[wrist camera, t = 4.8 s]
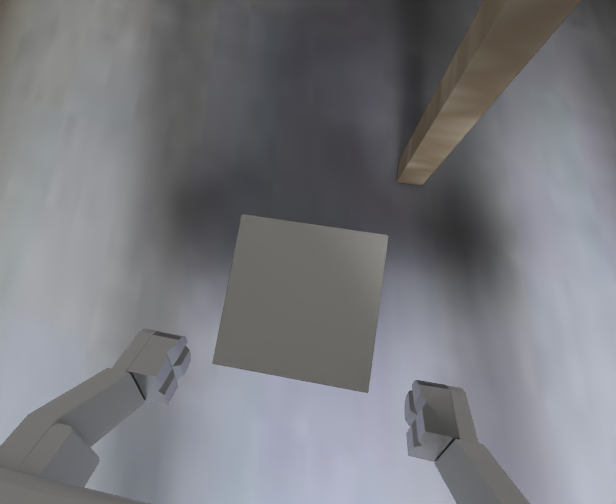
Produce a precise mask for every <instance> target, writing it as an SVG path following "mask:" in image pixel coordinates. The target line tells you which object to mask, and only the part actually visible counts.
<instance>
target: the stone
mask: <svg viewBox="0 0 616 504" xmlns="http://www.w3.org/2000/svg"><path fill="white" fill-rule="evenodd" d="M388 236H389V235H383V234H376V233H370V232H363V231H356V230H349V229H342V228H335V227H328V226H321V225H314V224H307V223H300V222H294V221H287V220H280V219H273V218H266V217H259V216H252V215H245V214H242V215H241V220H240V225H239V230H238V235H237V241H236V246H235V251H234V256H233V261H232V266H231V271H230V276H229V281H228V287H227V292H226V297H225V302H224V307H223V312H222V317H221V322H220V327H219V333H218V338H217V343H216V348H215V353H214V358H213V363H212V364H217V365H223V366H228V367H233V368H238V369H244V370H249V371H254V372H260V373H265V374H270V375H275V376H281V377H286V378H291V379H297V380H302V381H307V382H312V383H318V384H323V385H328V386H334V387H339V388H344V389H350V390H355V391H360V392H365V393H368V390H369V382H370V374H371V367H372V359H373V351H374V344H375V336H376V328H377V321H378V313H379V305H380V298H381V290H382V282H383V274H384V267H385V259H386V251H387V244H388Z"/></svg>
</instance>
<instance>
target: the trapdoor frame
mask: <svg viewBox="0 0 616 504" xmlns="http://www.w3.org/2000/svg"><path fill="white" fill-rule="evenodd" d="M580 1H581V0H484V1H483V3H482V4H481V6H480V8H479V10H478V12H477V14H476V16H475V18H474V20H473V21H472V23H471V25H470V27H469V29H468V31H467V33H466V35H465V37H464V38H463V40H462V42H461V44H460V46H459V48H458V50H457V52H456V54H455V55H454V57H453V59H452V61H451V63H450V65H449V67H448V69H447V71H446V72H445V74H444V76H443V78H442V80H441V82H440V84H439V86H438V88H437V89H436V91H435V93H434V95H433V97H432V99H431V101H430V103H429V105H428V106H427V108H426V110H425V112H424V114H423V116H422V118H421V120H420V122H419V123H418V125H417V127H416V129H415V131H414V133H413V135H412V137H411V139H410V140H409V142H408V144H407V146H406V148H405V150H404V152H403V154H402V156H401V157H400V161H399V168H398V176H397V182H399V183H406V184H414V185H423V184H424V183H425V181H426V180H427V179H428V178H429V177H430V176H431V174H432V173H433V172H434V171H435V170H436V169H437V167H438V166H439V165H440V164H441V163H442V162H443V160H444V159H445V158H446V157H447V156H448V155H449V153H450V152H451V151H452V150H453V149H454V148H455V147H456V145H457V144H458V143H459V142H460V141H461V140H462V138H463V137H464V136H465V135H466V134H467V133H468V131H469V130H470V129H471V128H472V127H473V126H474V124H475V123H476V122H477V121H478V120H479V119H480V118H481V116H482V115H483V114H484V113H485V112H486V111H487V109H488V108H489V107H490V106H491V105H492V104H493V102H494V101H495V100H496V99H497V98H498V97H499V95H500V94H501V93H502V92H503V91H504V90H505V88H506V87H507V86H508V85H509V84H510V83H511V82H512V80H513V79H514V78H515V77H516V76H517V75H518V73H519V72H520V71H521V70H522V69H523V68H524V66H525V65H526V64H527V63H528V62H529V61H530V59H531V58H532V57H533V56H534V55H535V54H536V52H537V51H538V50H539V49H540V48H541V47H542V46H543V44H544V43H545V42H546V41H547V40H548V39H549V37H550V36H551V35H552V34H553V33H554V32H555V30H556V29H557V28H558V27H559V26H560V25H561V23H562V22H563V21H564V20H565V19H566V18H567V17H568V15H569V14H570V13H571V12H572V11H573V10H574V8H575V7H576V6H577V5H578V4H579V3H580Z"/></svg>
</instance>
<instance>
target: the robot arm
mask: <svg viewBox="0 0 616 504" xmlns="http://www.w3.org/2000/svg"><path fill="white" fill-rule="evenodd" d="M186 344H187V340H186V337H185V336H179V335H174V334H169V333H163V332H159V331H154V330H149V329H143V330H142V331H140V332H139V333H138V334H137V336H136V337H135V338H134V340H133V341H132V342H131V343H130V345H129V346H128V347H127V349H126V350H125V351H124V353H123V354H122V355H121V357H120V358H119V359H118V361H117V362H116V363H115V365H114V366H113V367H112V369H110V368H107V369H105V370H103V371H102V372H100V373H98V374H96V375H95V376H93V377H91V378H90V379H88V380H86V381H85V382H83V383H81V384H79V385H78V386H76V387H74V388H73V389H71V390H69V391H68V392H66V393H64V394H62V395H61V396H59V397H57V398H56V399H54V400H52V401H51V402H49V403H47V404H45V405H44V406H42V407H40V408H39V409H37V410H35V411H34V412H32V413H30V414H28V415H27V417H26V418H25V419H24V420H23V421H22V422H21V423H20V424H19V426H18V427H17V428H16V429H15V430H14V431H13V432H12V434H11V435H10V436H9V437H8V438H7V439H6V440H5V441H4V443H3V444H2V445H1V446H0V504H150V503H145V502H141V501H137V500H133V499H129V498H125V497H121V496H117V495H113V494H108V493H104V492H100V491H96V490H92V489H88V488H84V486H85V485H86V483H87V482H88V480H89V478H90V477H91V475H92V473H93V472H94V470H95V468H96V467H97V465H98V463H99V462H100V461H99V456H98V455H97V454H96V453H95V452H94V451H93V450H92V449H91V448H90V447H91V446H92V445H94V444H95V443H96V442H97V441H99V440H100V439H101V438H102V437H103V436H105V435H106V434H107V433H108V432H110V431H111V430H112V429H113V428H114V427H116V426H117V425H118V424H119V423H121V422H122V421H123V420H124V419H125V418H127V417H128V416H129V415H130V414H132V413H133V412H134V411H135V410H136V409H138V408H139V407H140V406H141V405H143V404H144V403H145V401H150V402H155V403H161V404H166V405H168V404H169V403H170V401H171V399H172V397H173V395H174V393H175V391H176V390H177V388H178V384H177V380H178V379H179V378H181V377H182V376H184V375H185V373H186V371H187V369H188V366H189V363H190V357H191V353H190V350H189V349H188V348H187V347H186ZM405 420H406V422H407V423H408V425H409V426H410V428H409V430H408V432H407V433H406V436H407V446H408V456H412V457H416V458H421V459H425V460H429V461H433V462H435V465H436V467H437V469H438V471H439V472H440V474H441V476H442V478H443V479H444V481H445V483H446V485H447V487H448V488H449V490H450V492H451V494H452V496H453V497H454V499H455V501H456V503H457V504H530V503H529V502H528V500H527V499H526V498H525V497H524V495H523V494H522V493H521V492H520V490H519V489H518V488H517V486H516V485H515V484H514V483H513V481H512V480H511V479H510V478H509V476H508V475H507V474H506V472H505V471H504V470H503V469H502V467H501V466H500V465H499V463H498V462H497V461H496V460H495V458H494V457H493V456H492V455H491V453H490V452H489V451H488V449H487V448H486V447H485V446H484V445H483V444H479V442H478V439H477V435H476V431H475V427H474V423H473V419H472V416H471V412H470V408H469V404H468V400H467V397H466V393H465V391H464V390H463V389H462V388H458V387H452V386H447V385H443V384H437V383H431V382H425V381H419V380H415V381H414V382H413V384H412V391H409V392H408V394H407V396H406V400H405Z"/></svg>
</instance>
